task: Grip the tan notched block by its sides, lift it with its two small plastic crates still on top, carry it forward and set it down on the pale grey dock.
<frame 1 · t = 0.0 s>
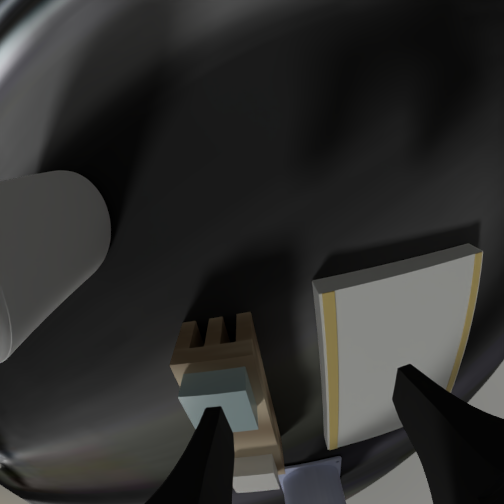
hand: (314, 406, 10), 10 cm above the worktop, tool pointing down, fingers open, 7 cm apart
pill bottle: (68, 223, 18), on the worktop
dock: (395, 357, 22), on the worktop
tan notched block: (239, 391, 23), on the worktop, touching crate a, crate b
crate a: (253, 465, 20), point 5 cm above the worktop, touching tan notched block
crate b: (221, 391, 17), point 5 cm above the worktop, touching tan notched block
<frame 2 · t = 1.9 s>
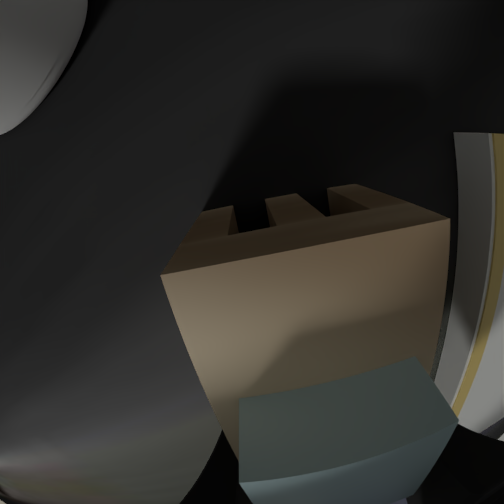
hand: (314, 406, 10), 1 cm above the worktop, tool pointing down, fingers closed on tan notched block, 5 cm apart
pill bottle: (19, 48, 6), on the worktop
tan notched block: (307, 382, 12), on the worktop, touching crate a, crate b, gripper
crate b: (333, 430, 6), point 5 cm above the worktop, touching tan notched block
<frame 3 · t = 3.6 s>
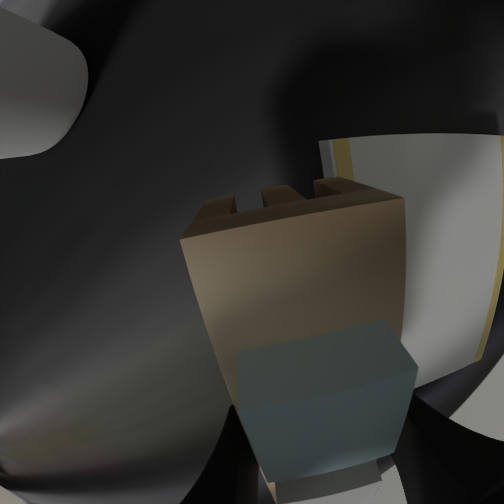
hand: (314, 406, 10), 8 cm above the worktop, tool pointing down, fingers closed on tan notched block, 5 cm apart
pill bottle: (45, 95, 13), on the worktop
dock: (426, 273, 18), on the worktop
tan notched block: (300, 356, 13), point 5 cm above the worktop, touching crate a, crate b, gripper
crate a: (322, 472, 10), point 10 cm above the worktop, touching tan notched block
crate b: (318, 386, 8), point 10 cm above the worktop, touching tan notched block
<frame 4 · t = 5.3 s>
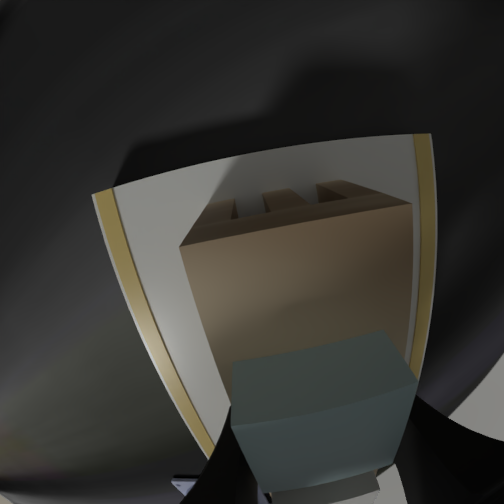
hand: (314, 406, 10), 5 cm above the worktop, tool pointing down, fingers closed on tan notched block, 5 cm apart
dock: (295, 338, 15), on the worktop
tan notched block: (302, 362, 13), point 2 cm above the worktop, touching crate a, crate b, dock, gripper
crate a: (319, 479, 9), point 7 cm above the worktop, touching tan notched block
crate b: (315, 397, 7), point 7 cm above the worktop, touching tan notched block
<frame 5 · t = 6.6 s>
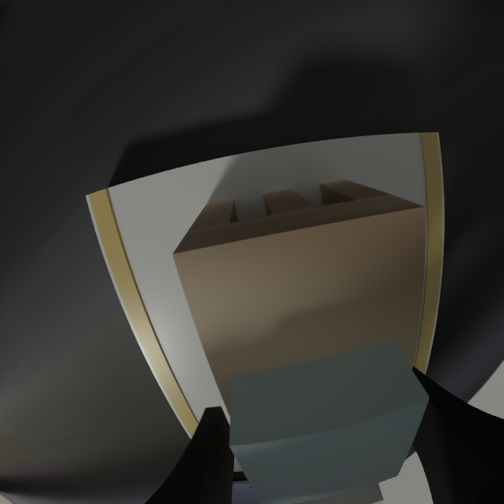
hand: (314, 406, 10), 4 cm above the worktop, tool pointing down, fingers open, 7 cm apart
dock: (297, 343, 14), on the worktop
tan notched block: (304, 368, 12), point 2 cm above the worktop, touching crate a, crate b, dock
crate a: (321, 488, 9), point 7 cm above the worktop, touching tan notched block
crate b: (318, 410, 7), point 7 cm above the worktop, touching tan notched block
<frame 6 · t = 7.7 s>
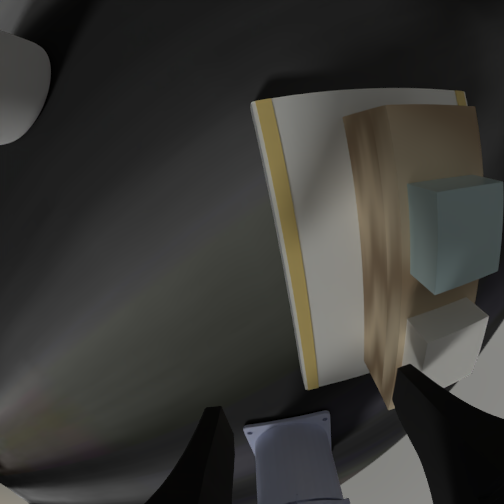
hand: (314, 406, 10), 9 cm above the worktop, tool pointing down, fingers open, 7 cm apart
pill bottle: (17, 92, 13), on the worktop
dock: (384, 240, 18), on the worktop
tan notched block: (398, 249, 16), point 2 cm above the worktop, touching crate a, crate b, dock
crate a: (434, 338, 12), point 7 cm above the worktop, touching tan notched block
crate b: (444, 222, 10), point 7 cm above the worktop, touching tan notched block
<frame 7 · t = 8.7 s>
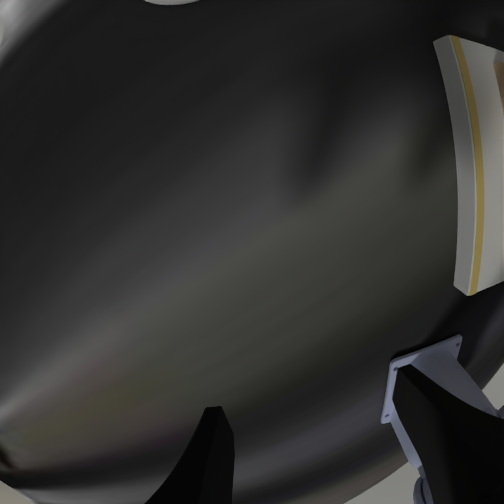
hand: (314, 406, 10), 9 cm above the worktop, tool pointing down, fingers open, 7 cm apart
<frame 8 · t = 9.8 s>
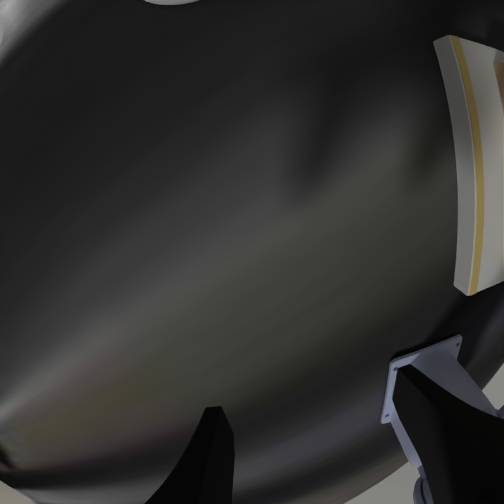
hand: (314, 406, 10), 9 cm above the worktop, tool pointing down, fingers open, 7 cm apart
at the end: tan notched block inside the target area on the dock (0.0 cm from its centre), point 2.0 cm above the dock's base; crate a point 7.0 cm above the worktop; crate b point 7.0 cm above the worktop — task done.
